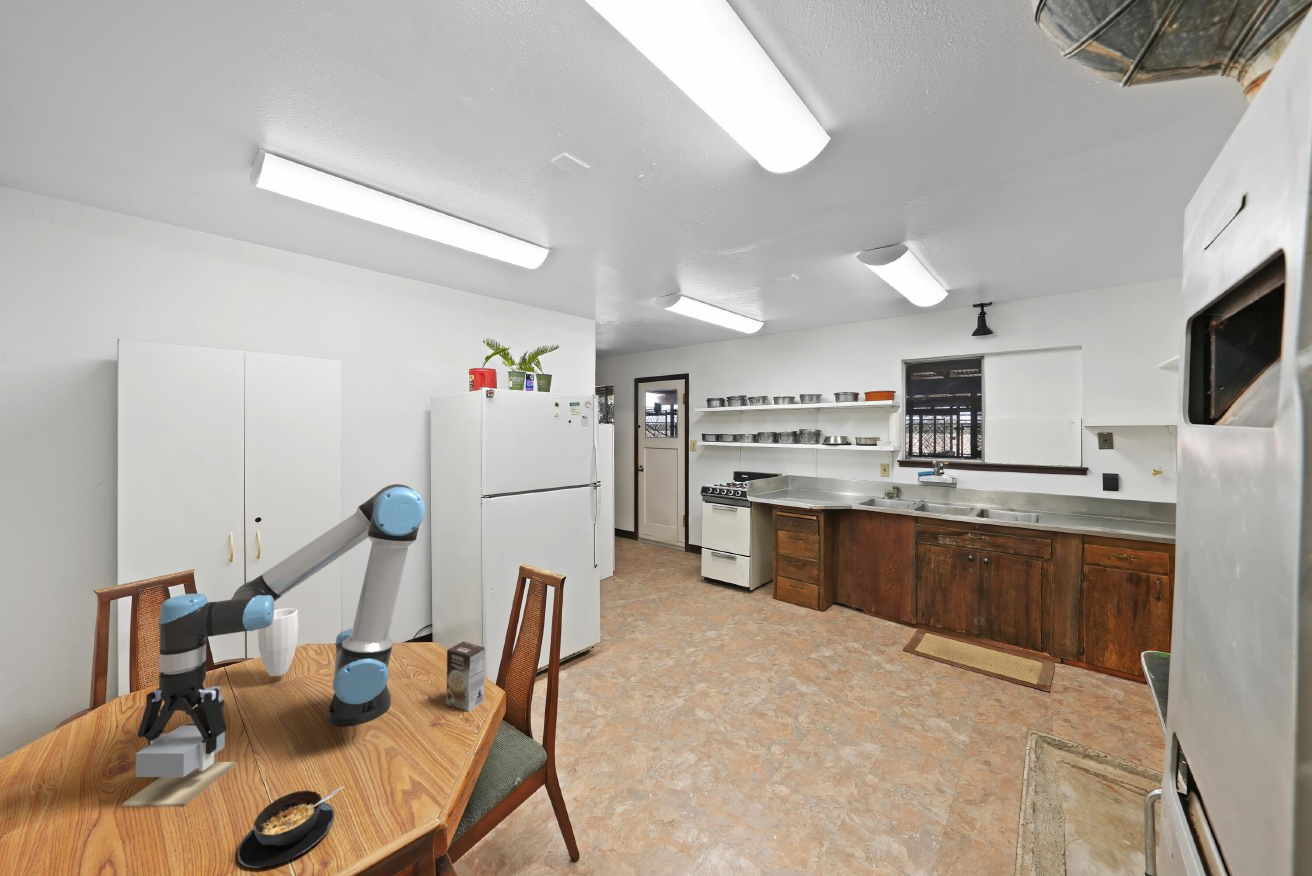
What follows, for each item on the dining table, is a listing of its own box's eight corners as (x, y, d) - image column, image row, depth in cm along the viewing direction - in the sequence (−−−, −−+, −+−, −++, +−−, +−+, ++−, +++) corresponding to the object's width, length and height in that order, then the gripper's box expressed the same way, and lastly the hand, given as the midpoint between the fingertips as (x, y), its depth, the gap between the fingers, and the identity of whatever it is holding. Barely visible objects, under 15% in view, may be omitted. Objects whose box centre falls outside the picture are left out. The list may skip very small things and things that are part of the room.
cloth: (237, 764, 115) (237, 761, 115) (184, 806, 102) (184, 803, 102) (181, 764, 115) (181, 761, 115) (122, 806, 102) (122, 803, 102)
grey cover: (224, 747, 114) (224, 725, 114) (183, 777, 104) (183, 753, 104) (181, 746, 114) (181, 725, 114) (135, 776, 104) (135, 753, 104)
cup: (282, 690, 148) (282, 619, 148) (248, 690, 149) (248, 619, 148) (307, 674, 159) (307, 607, 159) (275, 673, 159) (275, 607, 159)
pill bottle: (206, 735, 126) (206, 697, 126) (188, 732, 127) (188, 694, 127) (229, 722, 132) (229, 686, 132) (212, 720, 133) (212, 683, 133)
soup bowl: (280, 808, 102) (280, 772, 102) (356, 809, 102) (356, 774, 102) (215, 871, 87) (215, 830, 87) (303, 873, 87) (303, 832, 87)
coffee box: (445, 704, 141) (445, 649, 141) (462, 694, 147) (462, 640, 147) (468, 712, 137) (469, 655, 137) (485, 701, 143) (485, 646, 143)
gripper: (248, 659, 112) (247, 756, 113) (149, 658, 112) (148, 755, 112) (219, 675, 105) (218, 778, 105) (113, 674, 105) (112, 778, 105)
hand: (182, 766), depth 109 cm, fingers closed on grey cover, 10 cm apart
